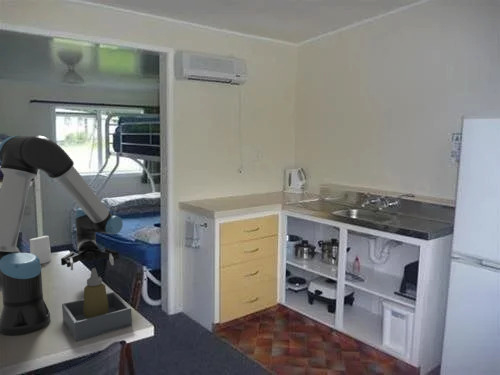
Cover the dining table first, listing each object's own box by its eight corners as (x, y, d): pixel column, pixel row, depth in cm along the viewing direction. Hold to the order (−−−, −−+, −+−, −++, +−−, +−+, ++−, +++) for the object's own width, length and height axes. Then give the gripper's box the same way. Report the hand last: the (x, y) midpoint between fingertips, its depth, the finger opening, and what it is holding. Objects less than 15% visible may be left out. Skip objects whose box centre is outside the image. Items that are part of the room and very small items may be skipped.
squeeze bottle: (83, 317, 140) (79, 266, 138) (108, 313, 144) (105, 263, 141) (84, 327, 133) (81, 274, 131) (110, 322, 136) (107, 270, 134)
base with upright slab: (44, 257, 214) (42, 234, 212) (54, 259, 209) (53, 236, 208) (27, 262, 206) (25, 238, 205) (38, 264, 202) (36, 240, 200)
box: (131, 325, 137) (131, 308, 136) (75, 341, 126) (74, 322, 126) (114, 307, 151) (113, 292, 150) (63, 320, 141) (61, 304, 140)
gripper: (120, 255, 172) (128, 269, 153) (54, 262, 162) (54, 279, 143) (119, 237, 172) (128, 249, 153) (53, 244, 161) (53, 258, 142)
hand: (92, 264), depth 148 cm, fingers open, 13 cm apart
